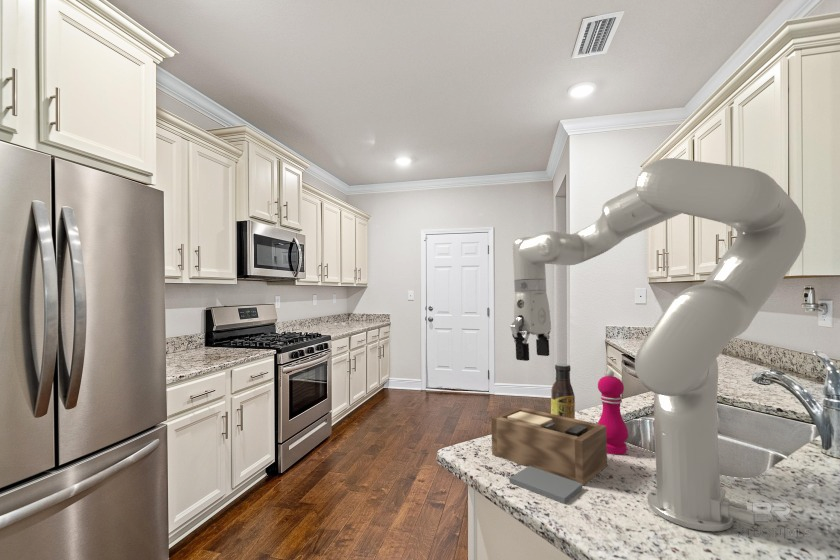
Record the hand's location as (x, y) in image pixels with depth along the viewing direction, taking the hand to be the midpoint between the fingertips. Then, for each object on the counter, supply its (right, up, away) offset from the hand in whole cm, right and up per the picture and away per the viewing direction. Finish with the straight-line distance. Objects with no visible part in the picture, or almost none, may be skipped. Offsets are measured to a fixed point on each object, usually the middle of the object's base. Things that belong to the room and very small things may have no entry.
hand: (533, 357), depth 94 cm
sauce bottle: (+12, -25, +13) cm, 30 cm away
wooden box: (+3, -24, -2) cm, 24 cm away
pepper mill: (+21, -24, +4) cm, 32 cm away
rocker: (+3, -19, -2) cm, 19 cm away
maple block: (0, -18, +2) cm, 18 cm away
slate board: (-2, -24, -14) cm, 28 cm away
